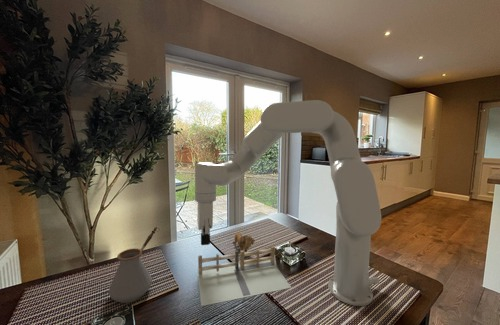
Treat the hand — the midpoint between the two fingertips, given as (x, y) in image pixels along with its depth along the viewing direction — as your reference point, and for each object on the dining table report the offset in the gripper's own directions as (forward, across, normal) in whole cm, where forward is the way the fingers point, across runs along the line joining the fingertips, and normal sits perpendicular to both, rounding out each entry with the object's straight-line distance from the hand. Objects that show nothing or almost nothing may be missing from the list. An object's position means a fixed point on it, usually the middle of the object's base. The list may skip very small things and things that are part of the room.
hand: (205, 243), depth 81 cm
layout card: (+8, +12, +11) cm, 18 cm away
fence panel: (+7, +7, +4) cm, 11 cm away
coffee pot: (+9, +5, -21) cm, 23 cm away
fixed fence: (+7, +7, +18) cm, 21 cm away
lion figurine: (+8, -6, +16) cm, 19 cm away
